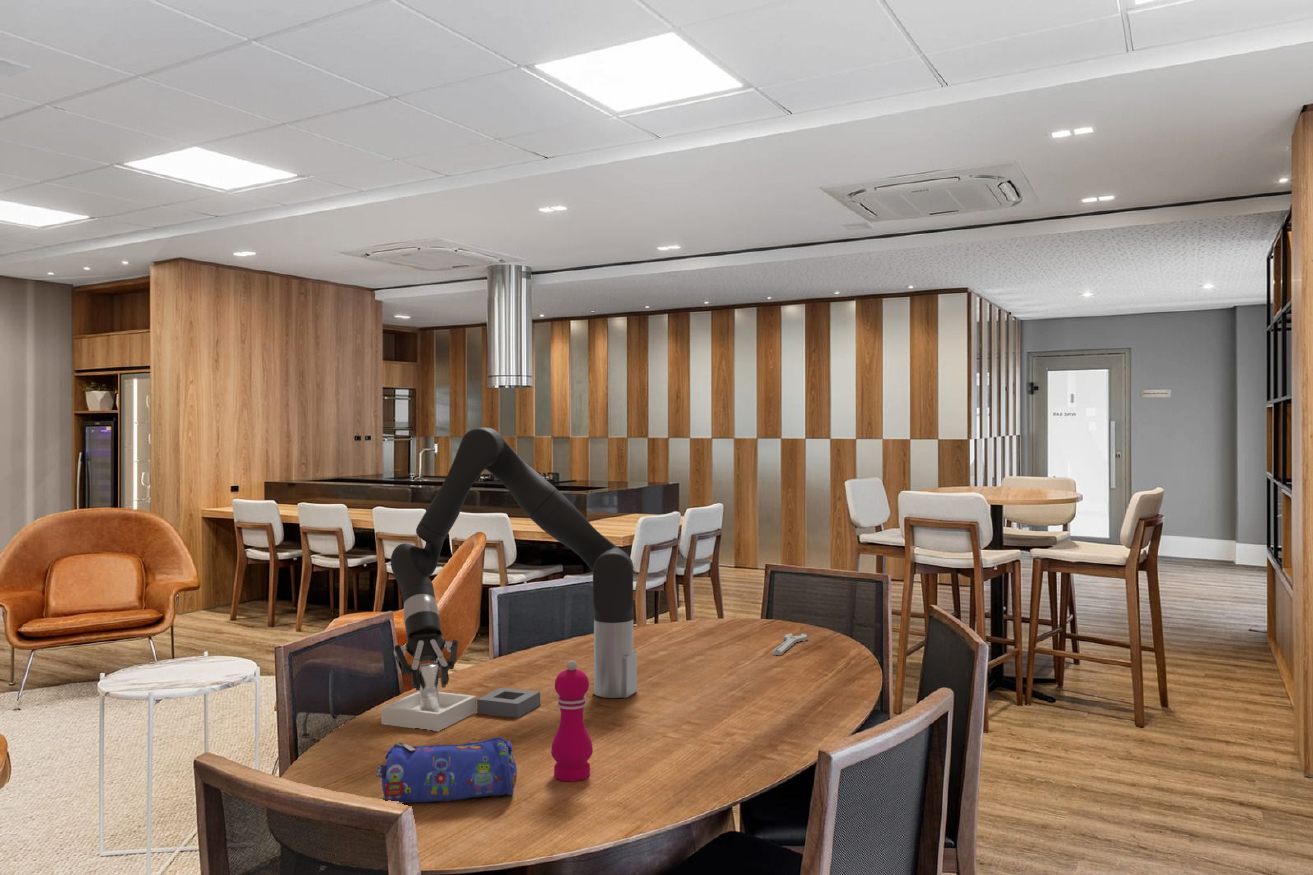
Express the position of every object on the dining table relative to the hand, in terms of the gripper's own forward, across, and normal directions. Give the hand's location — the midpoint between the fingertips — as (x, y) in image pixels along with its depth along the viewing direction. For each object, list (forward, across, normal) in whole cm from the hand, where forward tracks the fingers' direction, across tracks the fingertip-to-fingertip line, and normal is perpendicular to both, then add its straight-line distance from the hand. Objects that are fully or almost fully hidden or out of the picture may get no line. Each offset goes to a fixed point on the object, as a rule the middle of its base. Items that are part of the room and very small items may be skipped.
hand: (431, 686), depth 187 cm
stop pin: (+3, 0, +6) cm, 6 cm away
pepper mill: (+35, +17, -24) cm, 46 cm away
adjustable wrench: (-15, +105, +26) cm, 110 cm away
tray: (+4, 0, +6) cm, 7 cm away
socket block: (+4, +17, +6) cm, 18 cm away
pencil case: (+36, -5, -25) cm, 44 cm away
